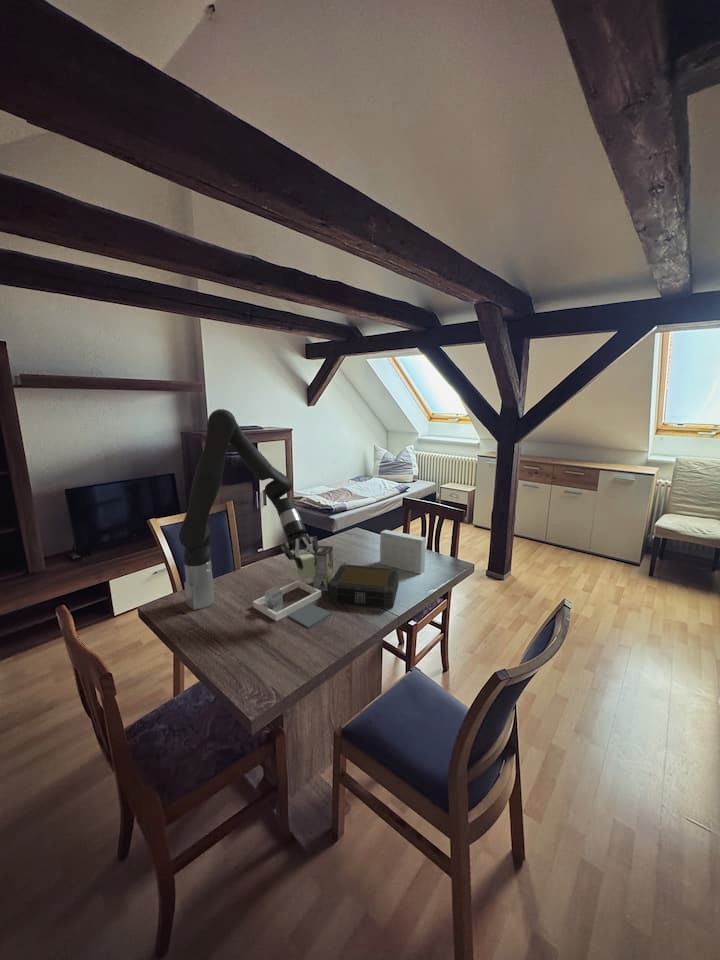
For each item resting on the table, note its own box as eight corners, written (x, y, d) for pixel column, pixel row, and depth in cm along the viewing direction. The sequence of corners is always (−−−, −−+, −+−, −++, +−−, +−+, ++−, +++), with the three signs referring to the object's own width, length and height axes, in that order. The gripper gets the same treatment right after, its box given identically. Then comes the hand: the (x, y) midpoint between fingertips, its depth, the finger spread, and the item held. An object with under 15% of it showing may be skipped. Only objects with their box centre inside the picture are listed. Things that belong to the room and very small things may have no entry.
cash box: (328, 604, 146) (327, 585, 144) (341, 579, 165) (341, 563, 163) (392, 611, 141) (393, 592, 139) (398, 585, 160) (399, 568, 158)
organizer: (276, 621, 134) (275, 614, 134) (253, 607, 143) (253, 601, 143) (321, 596, 151) (321, 590, 150) (298, 585, 159) (298, 580, 159)
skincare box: (425, 570, 173) (426, 537, 170) (420, 574, 169) (421, 541, 165) (384, 559, 184) (385, 528, 181) (379, 563, 180) (379, 532, 177)
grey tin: (273, 613, 139) (272, 595, 137) (265, 609, 142) (264, 591, 140) (283, 608, 142) (282, 590, 141) (275, 604, 145) (274, 586, 144)
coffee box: (319, 579, 165) (318, 545, 161) (333, 581, 163) (333, 546, 160) (312, 590, 156) (311, 553, 152) (327, 591, 155) (327, 554, 151)
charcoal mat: (308, 628, 130) (308, 626, 130) (288, 616, 137) (288, 615, 137) (331, 614, 138) (331, 613, 138) (310, 604, 145) (310, 602, 145)
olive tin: (303, 579, 132) (302, 559, 130) (297, 574, 135) (296, 554, 134) (315, 576, 134) (314, 556, 132) (309, 571, 138) (308, 551, 136)
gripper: (276, 523, 133) (292, 567, 126) (312, 515, 141) (329, 557, 133) (271, 533, 138) (286, 576, 131) (307, 525, 146) (323, 565, 139)
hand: (308, 566), depth 132 cm, fingers closed on olive tin, 4 cm apart
